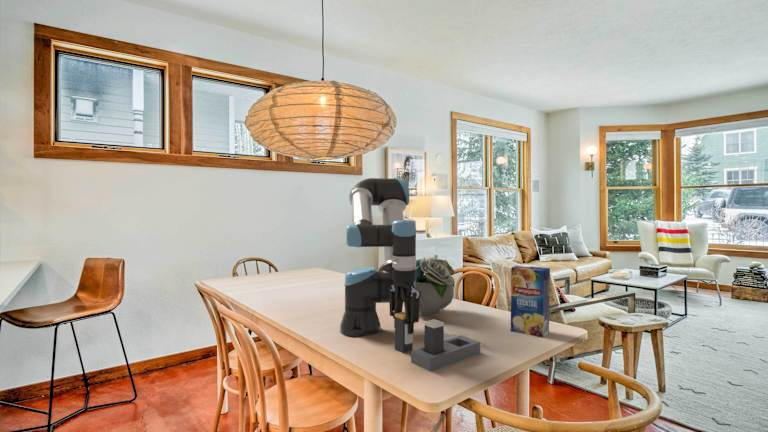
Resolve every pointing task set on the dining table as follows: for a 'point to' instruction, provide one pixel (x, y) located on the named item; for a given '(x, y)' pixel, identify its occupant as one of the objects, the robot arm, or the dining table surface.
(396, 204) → the robot arm
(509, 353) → the dining table surface
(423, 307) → the flower arrangement
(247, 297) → the dining table surface
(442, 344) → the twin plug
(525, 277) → the juice carton
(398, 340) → the plug
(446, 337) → the hard drive
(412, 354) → the grey socket block
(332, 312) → the dining table surface
